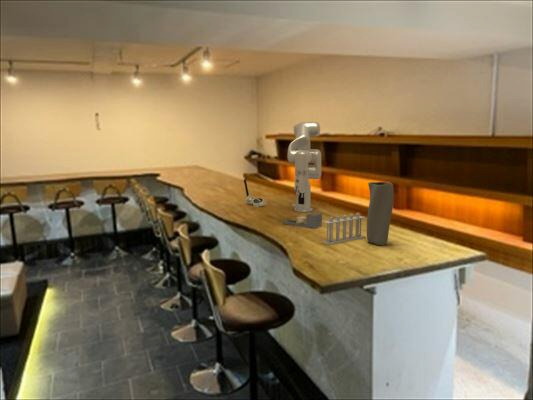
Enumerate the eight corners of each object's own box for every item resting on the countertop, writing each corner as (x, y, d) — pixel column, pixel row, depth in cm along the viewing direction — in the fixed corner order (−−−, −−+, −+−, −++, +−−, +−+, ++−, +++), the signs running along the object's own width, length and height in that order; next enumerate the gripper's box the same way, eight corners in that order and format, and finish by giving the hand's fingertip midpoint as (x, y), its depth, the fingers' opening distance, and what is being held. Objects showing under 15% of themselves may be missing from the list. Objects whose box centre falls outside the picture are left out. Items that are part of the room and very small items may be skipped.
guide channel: (282, 224, 246) (282, 221, 246) (287, 221, 252) (287, 219, 251) (307, 227, 238) (307, 224, 237) (311, 225, 243) (311, 222, 243)
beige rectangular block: (296, 225, 244) (296, 217, 243) (299, 224, 246) (299, 216, 245) (313, 228, 236) (313, 219, 235) (316, 227, 239) (316, 218, 238)
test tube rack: (327, 245, 202) (328, 218, 199) (322, 243, 205) (322, 217, 203) (365, 237, 214) (366, 213, 212) (359, 236, 218) (359, 211, 216)
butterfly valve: (268, 205, 306) (252, 200, 317) (264, 181, 297) (247, 177, 308) (261, 210, 300) (244, 205, 311) (256, 185, 291) (239, 181, 302)
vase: (384, 239, 211) (386, 181, 206) (395, 245, 199) (398, 184, 194) (361, 240, 209) (363, 182, 204) (371, 247, 197) (374, 185, 192)
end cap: (306, 227, 237) (306, 214, 236) (312, 224, 244) (312, 212, 242) (315, 228, 234) (315, 216, 233) (321, 226, 240) (321, 213, 239)
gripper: (301, 175, 230) (301, 207, 234) (312, 171, 242) (312, 202, 246) (289, 174, 234) (289, 205, 238) (301, 171, 246) (301, 201, 250)
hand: (301, 203), depth 242 cm, fingers closed
